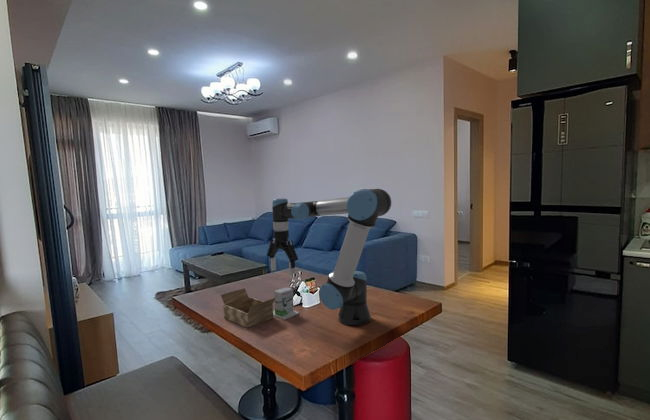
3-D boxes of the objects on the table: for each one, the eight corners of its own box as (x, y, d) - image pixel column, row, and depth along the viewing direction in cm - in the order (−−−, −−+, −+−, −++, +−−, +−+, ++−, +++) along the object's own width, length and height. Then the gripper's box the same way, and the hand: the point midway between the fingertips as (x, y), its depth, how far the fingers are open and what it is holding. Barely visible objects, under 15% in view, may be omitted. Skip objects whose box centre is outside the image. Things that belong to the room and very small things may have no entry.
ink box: (281, 316, 165) (280, 292, 164) (274, 314, 168) (273, 290, 167) (294, 311, 171) (293, 288, 170) (287, 309, 175) (286, 286, 174)
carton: (277, 319, 164) (276, 297, 163) (251, 329, 152) (250, 306, 151) (246, 307, 180) (245, 287, 179) (220, 316, 169) (219, 295, 168)
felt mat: (299, 313, 170) (299, 312, 170) (284, 319, 162) (284, 318, 162) (283, 308, 178) (283, 307, 178) (268, 313, 170) (268, 312, 170)
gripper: (304, 230, 162) (305, 274, 163) (270, 227, 178) (271, 267, 180) (293, 232, 156) (294, 278, 158) (258, 229, 173) (260, 270, 174)
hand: (282, 272), depth 169 cm, fingers open, 13 cm apart
